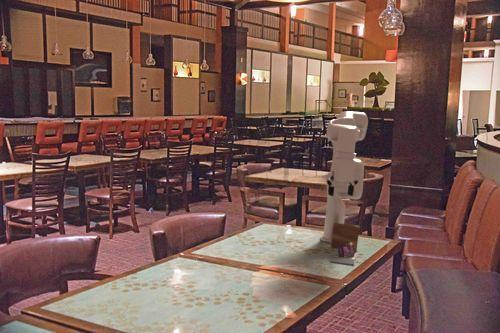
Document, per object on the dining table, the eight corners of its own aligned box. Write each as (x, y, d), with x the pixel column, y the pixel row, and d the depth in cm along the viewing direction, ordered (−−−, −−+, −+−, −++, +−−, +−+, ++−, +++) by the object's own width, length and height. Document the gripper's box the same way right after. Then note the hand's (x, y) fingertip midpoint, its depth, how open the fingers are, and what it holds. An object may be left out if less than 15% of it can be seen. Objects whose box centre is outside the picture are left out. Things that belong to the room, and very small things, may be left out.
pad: (331, 257, 231) (331, 255, 231) (354, 260, 229) (354, 259, 229) (330, 262, 223) (330, 260, 223) (353, 265, 221) (353, 264, 221)
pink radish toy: (338, 243, 230) (353, 241, 235) (330, 243, 234) (345, 242, 239) (340, 258, 229) (355, 256, 234) (332, 258, 233) (347, 257, 238)
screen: (331, 246, 247) (333, 222, 246) (356, 250, 245) (359, 225, 244) (330, 248, 245) (333, 223, 244) (356, 251, 243) (359, 226, 242)
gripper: (357, 155, 225) (352, 193, 228) (322, 154, 218) (318, 193, 221) (367, 157, 218) (362, 197, 221) (331, 156, 212) (327, 197, 214)
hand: (340, 195), depth 221 cm, fingers open, 9 cm apart
